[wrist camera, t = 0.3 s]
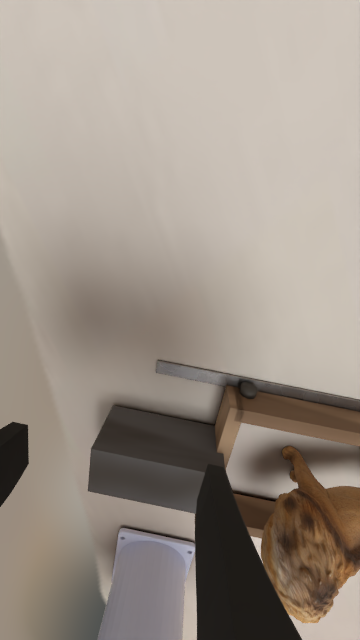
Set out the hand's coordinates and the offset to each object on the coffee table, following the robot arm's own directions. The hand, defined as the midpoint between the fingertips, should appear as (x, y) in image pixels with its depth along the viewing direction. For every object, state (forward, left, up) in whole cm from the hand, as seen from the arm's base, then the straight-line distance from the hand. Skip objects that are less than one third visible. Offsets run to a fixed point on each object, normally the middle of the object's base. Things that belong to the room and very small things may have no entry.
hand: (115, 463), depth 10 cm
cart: (-7, -9, -9) cm, 15 cm away
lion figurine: (-7, -16, -10) cm, 20 cm away
